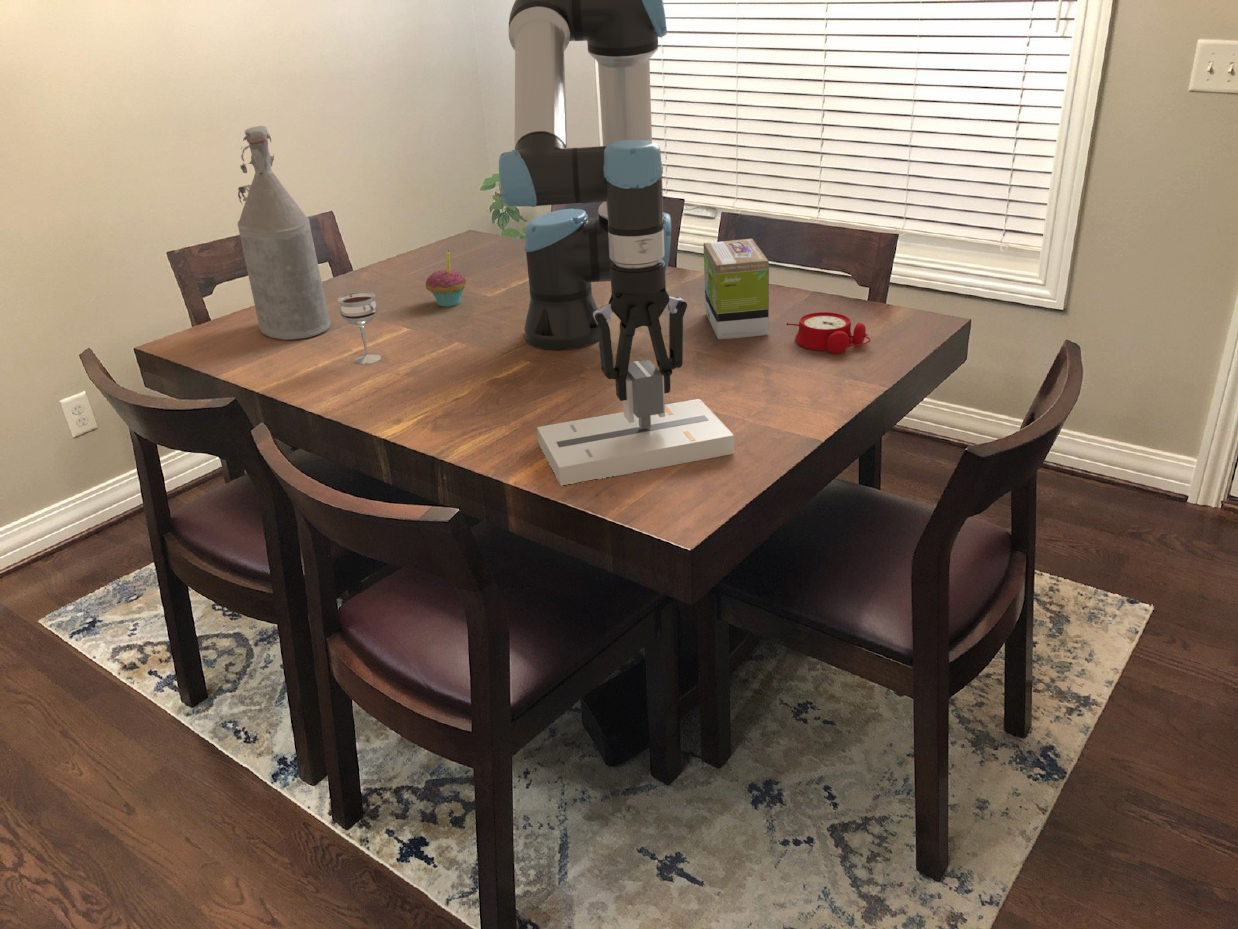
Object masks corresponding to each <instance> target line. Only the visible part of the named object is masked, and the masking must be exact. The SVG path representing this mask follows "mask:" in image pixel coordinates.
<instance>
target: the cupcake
mask: <svg viewBox="0 0 1238 929" xmlns="http://www.w3.org/2000/svg"><path fill="white" fill-rule="evenodd" d="M466 286H467V278H466V277H465V275H464V274H462V273H461V272H459V271H457V270H456V269H451V253H450V249H449V248H448V249H447V252H446V269H444V270H443V269H441V270H438V271H435V272H432V274H430V275H429V276H428V277H427V279H426V281H425V289H426V290H427V291H428V292H431V293H432V295H433V296H434V298H435V300H436V303H437V305H438V306H440V307H444V308H447V307H449V308H451V307H455V306H457V305H460V304H461V302H462V296H463V292H464V289H465V288H466Z"/></svg>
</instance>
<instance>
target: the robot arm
mask: <svg viewBox="0 0 1238 929" xmlns="http://www.w3.org/2000/svg"><path fill="white" fill-rule="evenodd" d="M508 19H509V20H508V40H509V43H510V45H511V47H512V49H513V50H514V149H512V150H511V151H510V150H509V151H506V152H505V151H504V152H502V153H501V154H500V156H499V159H498V175H499V177H498V178H499V186H500V192H501V193H500V194H501V197H502V200H503V202H504V203H505V205H507V206H509V207H532V208H535V207H542V206H543V207H544V206H555V205H568V204H589V203H590V204H591V203H601V204H600V205H599V207H598V210H597V212H598V216H597V217H589V216H588V214H587V213H586V212H587V211H585V210H584V209H582V208H575V209H574V208H565V209H559V210H554V211H551V212H550V211H548V212H546V213H543V214H541V215H538V216H536V217H534V218H533V219H531V220H530V221H529V222H528V223H527V224H526V226H525V228H524V247H523V248H524V251H525V253H526V255H525V256H526V263H527V275H528V285H529V286H528V287H529V296H530V300H529V307H528V309H527V314H526V317H525V318H526V319H525V323H524V328H523V329H524V330H523V331H524V339H525V342H526V343H527V344H528V345H530V346H533V347H534V348H537V349H542V350H543V349H544V350H557V351H558V350H573V349H578V348H582V347H586V346H589V345H592V344H594V343H596V342H598V347H599V356H600V364H601V365H600V366H601V371H602V373H603V374H604V376H605V377H606V378H607V379H608V380H614V381H615V395H616V396H617V398H618V400H619V401H620V402H622V404H623V405H622V406H623V412H624V416H625V418H626V419H627V421H628V422H629V423H632V422H634V409H633V390H632V380H631V379H630V378H629V377H628V375H627V373H628V366H629V363H630V359H631V352H632V347H633V346H632V344H633V339H634V337H635V334H636V329H638V328H641V327H647V329H648V333H649V336H650V337H649V338H650V342H651V346H652V348H653V349H652V350H653V352H654V356H655V360H656V364H657V367H658V370H659V371H660V373H661V374H662V381H663V408H664V413H661V414H658V415H659V416H660V418H661V417H665V405H666V403H665V401H666V399H665V398H666V397H665V395H666V394H669V393H670V391H671V375H672V374H673V370H674V369H679V368H681V367H682V366H683V364H684V363H683V361H684V360H683V357H684V356H683V350H684V345H683V344H684V343H683V341H684V331H683V330H684V316H685V313H686V310H687V307H688V303H687V302H686V301H685V300H684V299H683V298H682V297H681V296H676V297H673V296H671V295H669V293H668V290H666V289H667V288H666V287H667V286H666V284H667V283H666V271H667V268H668V265H669V260H670V254H671V252H670V250H671V243H672V242H671V239H672V237H671V235H672V233H671V232H672V220H671V219H672V218H671V215H670V214H669V213H666V212H664V211H663V210H664V204H663V201H664V199H663V198H664V196H663V173H664V170H663V169H664V166H663V162H662V154H661V153H662V152H661V148H660V146H659V144H658V143H657V142H655V141H653V133H652V132H653V131H652V130H653V128H652V126H653V125H652V100H651V99H652V97H651V96H652V94H651V93H652V92H651V66H650V62H651V61H650V59H651V57H652V56H653V55H654V54H655V53H656V52H657V51H658V50H659V38H663V37H664V36H666V35H667V33H668V31H667V30H668V29H667V23H666V22H667V19H666V12H665V6H664V0H515V1H514V3H513V4H512V7H511V10H510V14H509V18H508ZM582 41H583V42H584V41H586V42H587V43H586V44H587V53H588V55H590V57H592V58H593V59H594V60H595V61H596V63H597V70H598V86H599V88H598V89H599V103H600V106H599V107H600V121H601V137H602V139H601V140H602V146H601V145H600V146H586V147H585V146H584V147H568V138H567V137H568V136H567V135H568V133H567V132H568V131H567V130H568V129H567V104H566V102H567V100H566V75H565V74H566V73H565V72H566V70H565V51H566V49H567V48H568V47H569V45H570V44H569V43H570V42H582ZM599 282H602V283H603V282H610V286H611V288H610V289H611V295H610V297H609V300H608V304H607V305H605V306H604V307H601V308H600V309H598V306H597V304H596V300H595V298H594V296H593V290H592V289H593V288H592V283H599ZM666 307H667V310H668V312H669V314H668V315H669V319H668V320H669V321H668V322H669V323H668V328H669V330H668V333H669V336H668V340H669V342H668V346H669V347H668V352H667V348H666V345H665V342H664V341H665V340H664V338H663V333H662V326H661V322H660V318H661V315H663V312H664V310H665V309H666ZM613 313H614V315H615V316H616V317H617V318H618V319H619V320H620V322H619V334H618V342H617V350H616V355H615V362H614V356H613V346H612V337H611V336H612V335H611V329H610V325H609V324H610V323H611V321H612V314H613ZM668 354H669V355H668Z"/></svg>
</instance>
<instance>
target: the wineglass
mask: <svg viewBox="0 0 1238 929" xmlns="http://www.w3.org/2000/svg"><path fill="white" fill-rule="evenodd" d="M375 294H376V293H373V292H370V291H356V292H355V291H353V292H349V293H345V294H342V295H341V296H339V297H338V298H337V302H338V303H339V304H340V305H339V312H340V315H341V317H342V319H343V320H344V321H346V322H347V323H349V324H351V325H353V326H357V328H359V330H360V335H361V338H362V343H363V348H364V352H365V354H364V355H360V356H357V357H356V358H354V360H353V362H354V363H356V364H358V365H369V364H374V363H377V362H378V361H380V360H381V359H382V355H379V354H377V353H375V354H374V353H369V352H368V344H367V338H366V333H365V332H366V331H365V328H366V326H367V325H368V323H370V322H372V321H374V318H375V317H376V315H377V313H378V304H377V302H376V300H375V297H376V295H375Z"/></svg>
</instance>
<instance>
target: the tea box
mask: <svg viewBox="0 0 1238 929" xmlns="http://www.w3.org/2000/svg"><path fill="white" fill-rule="evenodd" d="M769 264H770V263H769V260H768V258H767V257H766V255H765V254H764V253H763V251H762V250H761V249H760V248H759V246H758V245H757V243H756V242H755V241H754V239H753V238H746V239H745V238H744V239H733V240H724V241H714V242H713V241H712V242H703V266H704V267H703V268H704V269H703V272H704V273H703V276H704V302H705V303H704V304H705V308H704V309H705V314H706V316H707V319H708V322H709V324H710V325H711V327H712V330H713V332H714V334H715V336H716V338H717V339H718V340H730V339H731V340H732V339H743V338H751V337H752V338H753V337H762V336H768V335H769V326H770V318H769V316H770V315H769V314H770V313H769V310H770V309H769V305H770V304H769V303H770V299H769V298H770V294H769V292H770V286H769V285H770V284H769V283H770V282H769V281H770V266H769Z"/></svg>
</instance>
